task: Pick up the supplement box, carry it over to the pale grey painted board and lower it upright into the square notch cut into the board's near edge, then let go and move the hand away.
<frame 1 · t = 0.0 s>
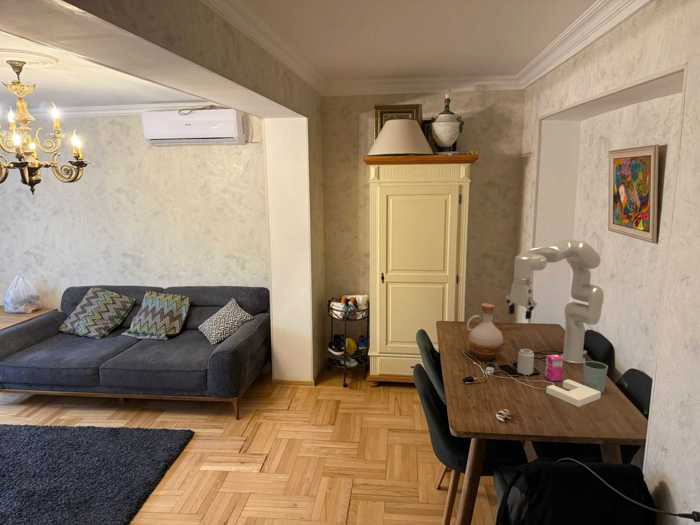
hand: (519, 316, 230), 31 cm above the table, tool pointing down, fingers open, 9 cm apart
grey-green cup: (593, 389, 222), on the table
can: (524, 373, 240), on the table
notched board: (572, 395, 216), on the table
supplement box: (553, 379, 233), on the table
jug: (483, 357, 261), on the table
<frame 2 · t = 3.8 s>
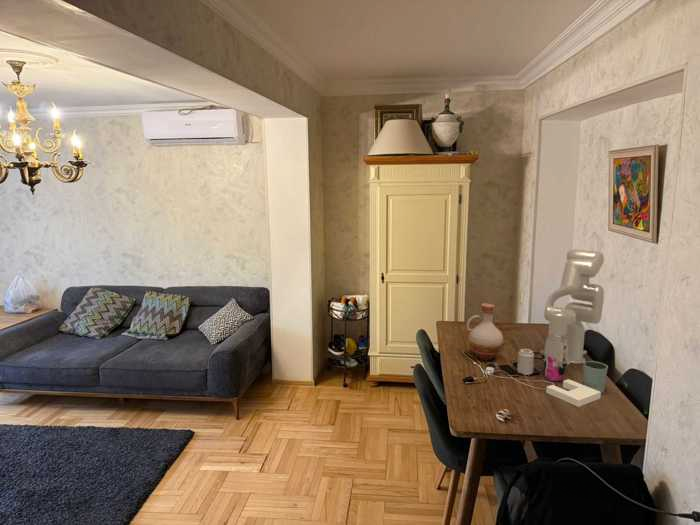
hand: (553, 371, 233), 4 cm above the table, tool pointing down, fingers closed on supplement box, 7 cm apart
supplement box: (553, 379, 233), on the table, touching gripper
everything else where it was.
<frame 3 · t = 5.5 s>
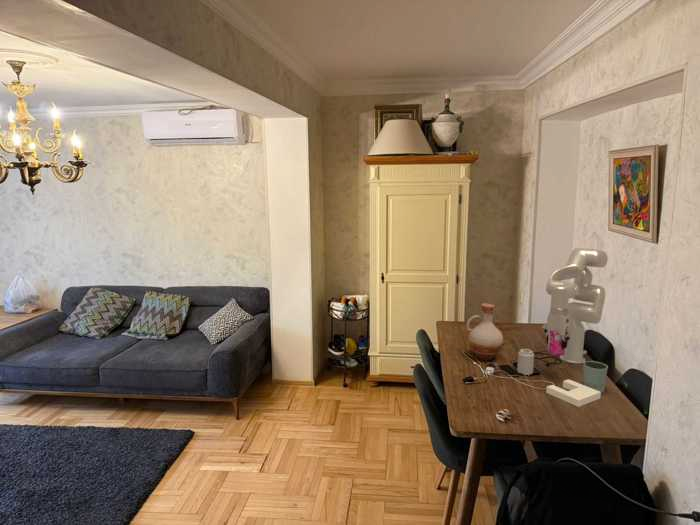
hand: (556, 345, 231), 17 cm above the table, tool pointing down, fingers closed on supplement box, 7 cm apart
supplement box: (555, 353, 232), point 13 cm above the table, touching gripper
everything else where it was.
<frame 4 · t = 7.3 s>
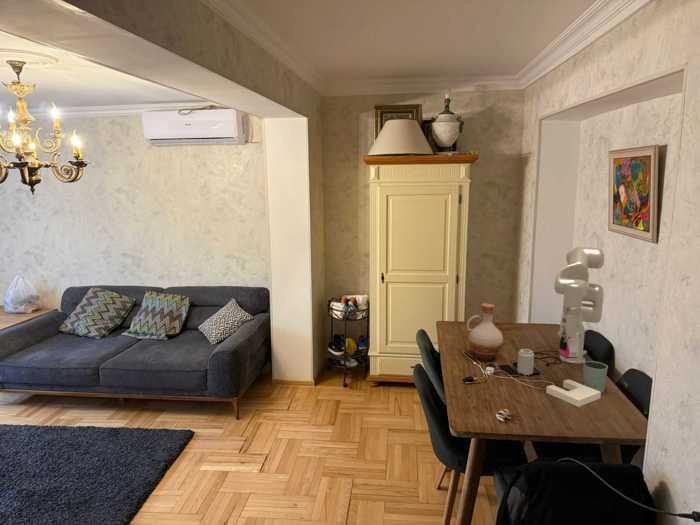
hand: (568, 347, 215), 21 cm above the table, tool pointing down, fingers closed on supplement box, 7 cm apart
supplement box: (567, 356, 216), point 17 cm above the table, touching gripper
everything else where it was.
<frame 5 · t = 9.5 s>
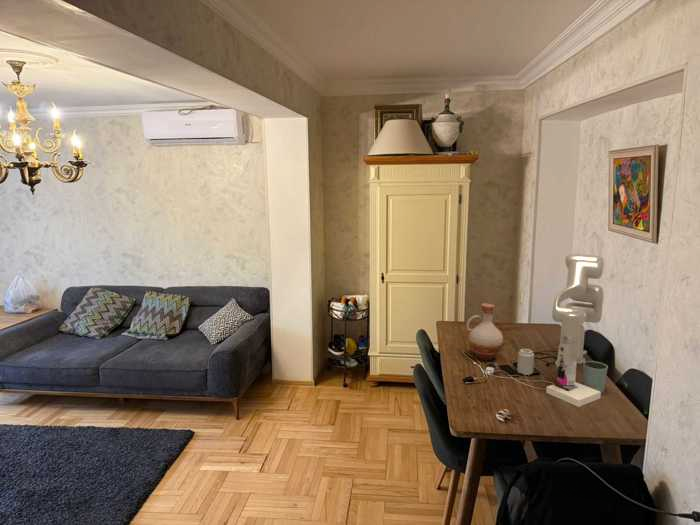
hand: (566, 375, 218), 8 cm above the table, tool pointing down, fingers closed on supplement box, 7 cm apart
supplement box: (565, 384, 218), point 4 cm above the table, touching gripper
everything else where it was.
when the fingers open (5 cm above the table, at t = 11.2 s): supplement box drops 1 cm, on the table.
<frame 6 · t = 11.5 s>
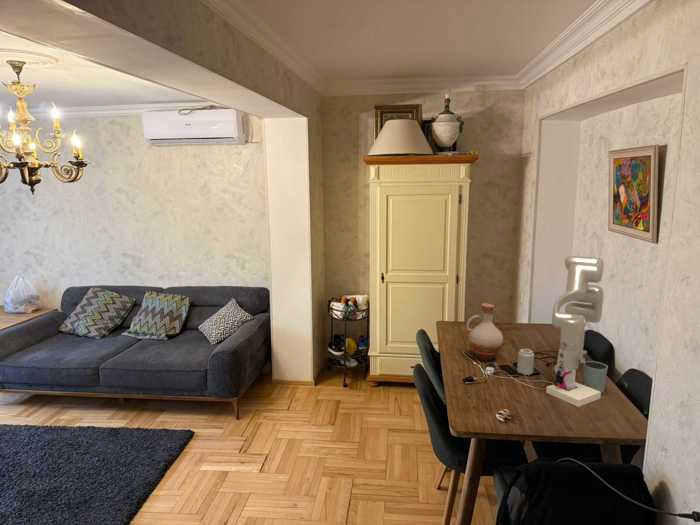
hand: (566, 380, 218), 5 cm above the table, tool pointing down, fingers open, 9 cm apart
supplement box: (564, 392, 219), on the table
everything else where it was.
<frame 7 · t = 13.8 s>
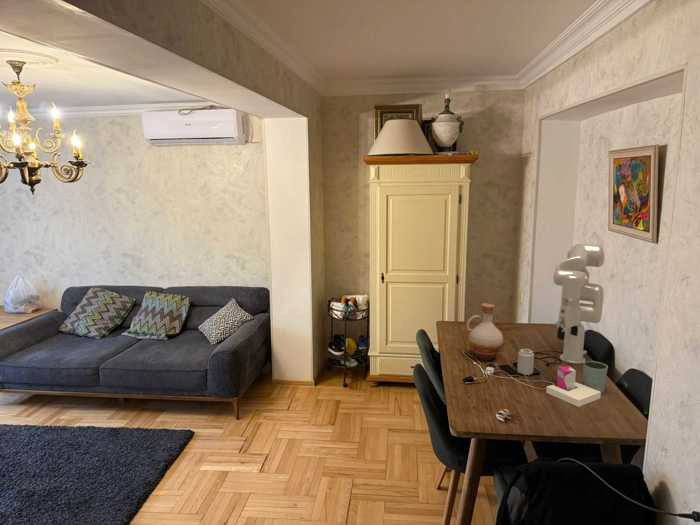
hand: (567, 337, 219), 25 cm above the table, tool pointing down, fingers open, 9 cm apart
nothing on the table moved.
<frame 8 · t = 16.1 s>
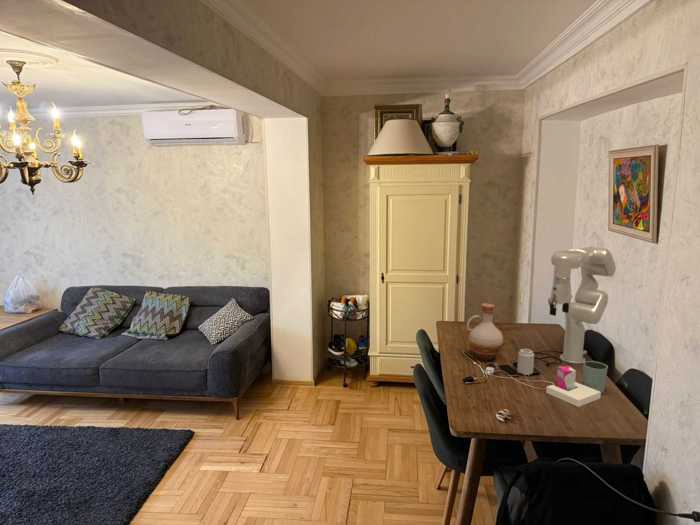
hand: (559, 313, 238), 30 cm above the table, tool pointing down, fingers open, 9 cm apart
nothing on the table moved.
at the end: supplement box 0.3 cm from the target spot on the notched board, point 0.0 cm above the notched board's base; supplement box tilted 0°; the gripper is holding nothing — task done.
